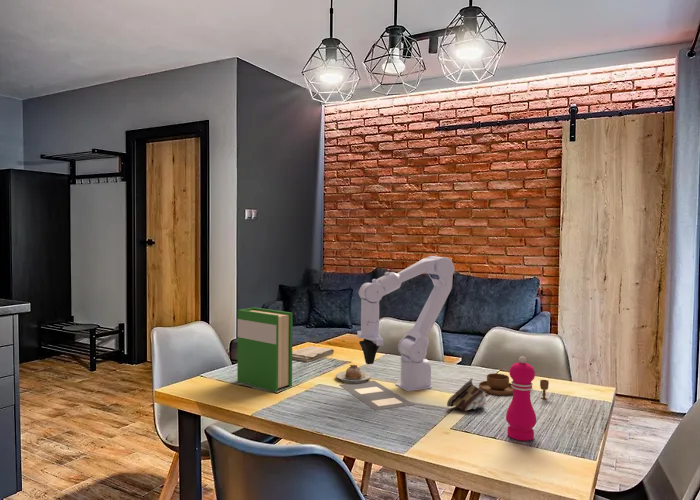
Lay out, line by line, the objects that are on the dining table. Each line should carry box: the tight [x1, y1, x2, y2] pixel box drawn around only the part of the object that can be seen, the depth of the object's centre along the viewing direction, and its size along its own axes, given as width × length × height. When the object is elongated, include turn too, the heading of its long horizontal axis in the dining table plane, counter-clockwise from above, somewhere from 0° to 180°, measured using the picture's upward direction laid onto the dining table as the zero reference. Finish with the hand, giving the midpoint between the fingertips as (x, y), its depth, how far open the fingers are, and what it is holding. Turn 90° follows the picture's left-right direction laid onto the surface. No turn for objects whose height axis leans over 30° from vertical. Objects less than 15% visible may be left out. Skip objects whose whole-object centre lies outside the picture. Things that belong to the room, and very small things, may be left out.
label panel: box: [339, 380, 415, 411], centre depth 162 cm, size 13×26×1 cm, turn 24°
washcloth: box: [292, 345, 335, 363], centre depth 210 cm, size 12×18×3 cm, turn 149°
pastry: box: [335, 364, 372, 384], centre depth 178 cm, size 12×12×5 cm
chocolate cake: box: [446, 378, 487, 412], centre depth 150 cm, size 10×7×12 cm
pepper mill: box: [505, 355, 537, 442], centre depth 130 cm, size 7×7×20 cm
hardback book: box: [236, 307, 294, 392], centre depth 171 cm, size 18×7×24 cm, turn 54°
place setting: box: [478, 373, 550, 401], centre depth 165 cm, size 18×20×6 cm
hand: (369, 363), depth 165 cm, fingers closed
